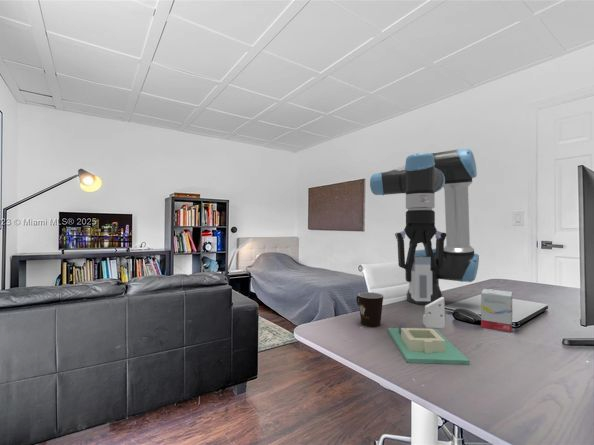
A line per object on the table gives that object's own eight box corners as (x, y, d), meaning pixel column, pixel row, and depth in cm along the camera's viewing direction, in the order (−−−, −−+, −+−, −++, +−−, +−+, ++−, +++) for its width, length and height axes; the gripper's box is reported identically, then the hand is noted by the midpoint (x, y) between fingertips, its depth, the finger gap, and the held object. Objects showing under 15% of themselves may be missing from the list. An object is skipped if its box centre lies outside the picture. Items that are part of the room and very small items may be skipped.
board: (387, 331, 97) (387, 318, 97) (435, 332, 95) (435, 319, 95) (407, 362, 75) (406, 346, 75) (469, 364, 73) (469, 348, 73)
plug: (410, 297, 85) (410, 255, 85) (425, 297, 85) (425, 255, 85) (415, 301, 81) (415, 257, 81) (431, 301, 80) (431, 257, 81)
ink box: (512, 332, 94) (511, 295, 94) (480, 327, 100) (480, 291, 100) (512, 325, 101) (512, 290, 101) (483, 320, 106) (482, 287, 107)
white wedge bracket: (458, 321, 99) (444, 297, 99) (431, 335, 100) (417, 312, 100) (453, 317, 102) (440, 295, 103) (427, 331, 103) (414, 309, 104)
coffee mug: (386, 328, 99) (386, 298, 99) (360, 328, 99) (360, 298, 99) (377, 317, 111) (377, 290, 111) (354, 317, 111) (354, 290, 111)
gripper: (391, 209, 80) (392, 296, 80) (457, 208, 79) (458, 297, 79) (386, 210, 88) (386, 290, 88) (446, 210, 86) (446, 291, 86)
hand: (420, 293), depth 83 cm, fingers closed on plug, 4 cm apart
